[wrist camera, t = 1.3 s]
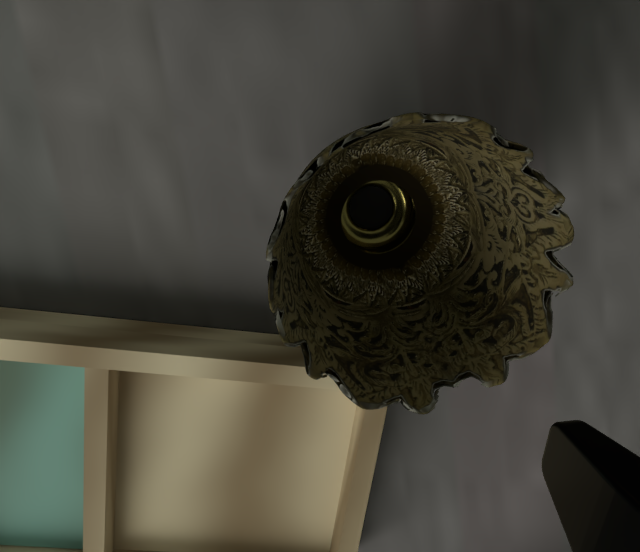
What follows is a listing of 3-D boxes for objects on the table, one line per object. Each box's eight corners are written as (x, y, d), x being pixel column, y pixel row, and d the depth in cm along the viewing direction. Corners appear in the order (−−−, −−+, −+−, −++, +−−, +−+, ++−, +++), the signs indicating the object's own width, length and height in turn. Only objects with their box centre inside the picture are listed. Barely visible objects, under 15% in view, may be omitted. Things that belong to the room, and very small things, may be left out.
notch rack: (381, 344, 22) (393, 375, 20) (340, 557, 26) (346, 604, 24) (-179, 289, 20) (-239, 316, 18) (-142, 530, 24) (-189, 580, 21)
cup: (440, 71, 19) (545, 63, 12) (490, 261, 22) (603, 356, 14) (239, 146, 20) (214, 185, 12) (310, 325, 22) (326, 451, 14)
